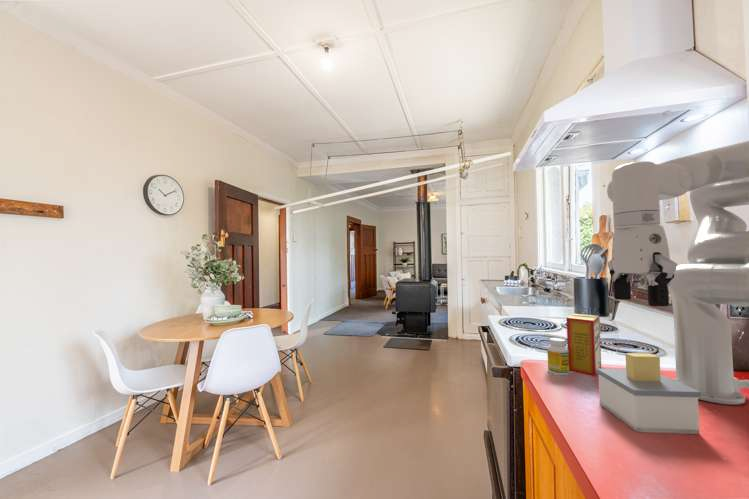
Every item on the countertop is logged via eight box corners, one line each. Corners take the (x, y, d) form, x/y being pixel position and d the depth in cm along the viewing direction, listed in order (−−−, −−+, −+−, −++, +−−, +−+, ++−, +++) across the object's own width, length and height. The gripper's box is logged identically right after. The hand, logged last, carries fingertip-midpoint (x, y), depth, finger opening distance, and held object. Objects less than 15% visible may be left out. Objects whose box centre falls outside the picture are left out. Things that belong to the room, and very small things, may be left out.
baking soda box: (595, 376, 84) (593, 319, 85) (568, 370, 89) (566, 316, 90) (601, 367, 91) (599, 314, 92) (576, 362, 96) (574, 312, 96)
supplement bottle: (553, 367, 92) (552, 335, 92) (572, 373, 87) (571, 339, 88) (544, 371, 89) (543, 338, 89) (563, 377, 84) (562, 342, 85)
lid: (651, 378, 68) (649, 347, 68) (701, 402, 57) (699, 365, 57) (596, 377, 69) (595, 346, 69) (634, 400, 58) (633, 364, 58)
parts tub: (651, 405, 68) (650, 374, 68) (699, 434, 57) (697, 396, 57) (599, 404, 69) (598, 373, 69) (636, 431, 58) (635, 394, 58)
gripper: (694, 215, 55) (698, 309, 54) (625, 226, 72) (628, 297, 72) (649, 216, 56) (653, 309, 55) (592, 226, 73) (594, 297, 72)
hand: (639, 302), depth 63 cm, fingers open, 9 cm apart
